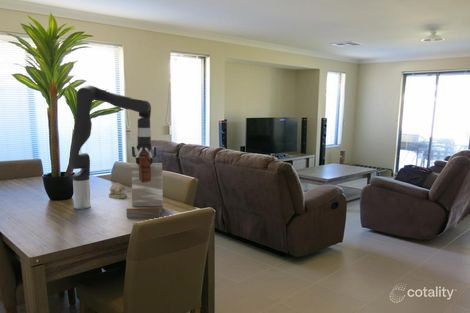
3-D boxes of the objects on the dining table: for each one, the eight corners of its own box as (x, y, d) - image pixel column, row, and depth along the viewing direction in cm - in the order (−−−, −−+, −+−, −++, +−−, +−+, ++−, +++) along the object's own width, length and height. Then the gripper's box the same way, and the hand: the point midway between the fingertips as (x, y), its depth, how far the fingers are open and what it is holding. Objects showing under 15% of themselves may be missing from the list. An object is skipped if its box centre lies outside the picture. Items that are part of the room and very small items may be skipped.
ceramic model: (105, 196, 249) (104, 182, 248) (119, 193, 258) (119, 179, 257) (117, 199, 241) (116, 185, 239) (131, 196, 249) (131, 182, 248)
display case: (132, 208, 220) (131, 163, 216) (162, 208, 222) (162, 163, 218) (126, 217, 203) (125, 168, 199) (159, 217, 204) (158, 168, 200)
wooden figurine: (152, 182, 206) (152, 151, 204) (140, 183, 204) (140, 151, 201) (148, 178, 217) (148, 148, 214) (137, 179, 214) (137, 149, 212)
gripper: (130, 136, 202) (130, 165, 204) (156, 136, 204) (156, 165, 206) (132, 135, 210) (133, 163, 212) (157, 135, 211) (157, 163, 213)
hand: (144, 164), depth 209 cm, fingers closed on wooden figurine, 7 cm apart
